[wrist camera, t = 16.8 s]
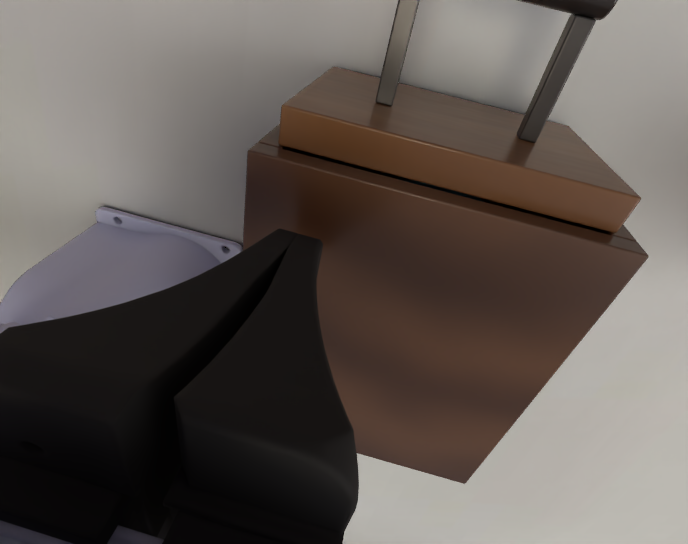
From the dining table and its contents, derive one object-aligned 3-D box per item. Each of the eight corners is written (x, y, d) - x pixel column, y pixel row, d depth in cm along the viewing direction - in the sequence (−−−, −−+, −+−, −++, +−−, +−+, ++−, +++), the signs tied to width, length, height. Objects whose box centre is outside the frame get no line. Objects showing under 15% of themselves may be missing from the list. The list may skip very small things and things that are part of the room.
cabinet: (319, 87, 19) (247, 150, 11) (563, 150, 18) (650, 256, 11) (288, 301, 27) (233, 418, 19) (456, 347, 26) (465, 484, 19)
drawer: (356, -80, 14) (303, -131, 8) (642, -11, 14) (794, -13, 8) (297, 285, 25) (255, 378, 19) (460, 330, 24) (470, 438, 18)
